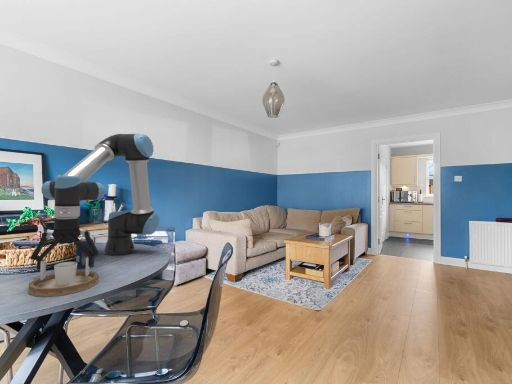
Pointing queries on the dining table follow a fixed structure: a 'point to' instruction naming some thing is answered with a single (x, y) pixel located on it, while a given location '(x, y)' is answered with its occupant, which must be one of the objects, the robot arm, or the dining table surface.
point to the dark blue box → (82, 255)
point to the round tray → (50, 288)
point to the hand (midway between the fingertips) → (65, 276)
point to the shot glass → (65, 273)
